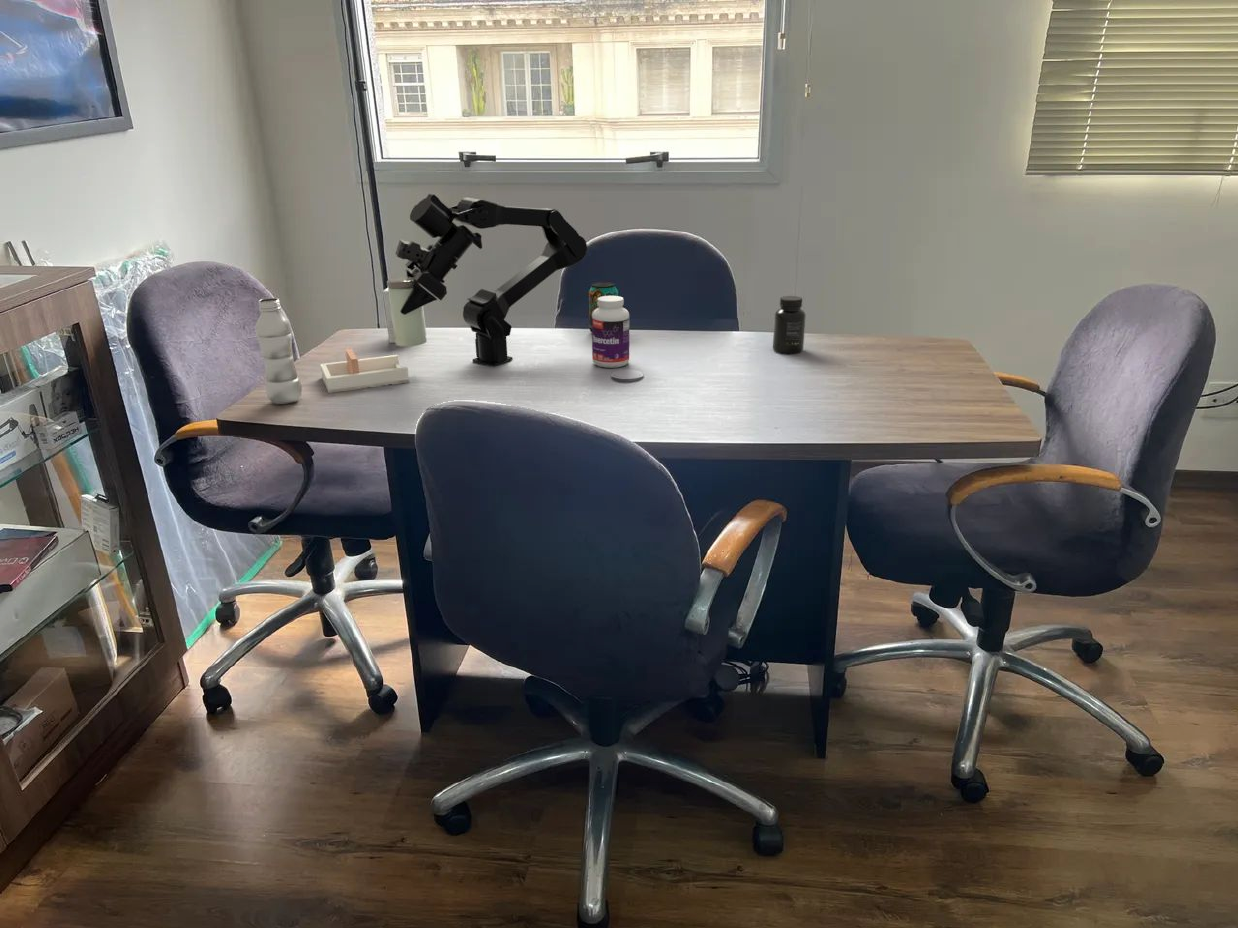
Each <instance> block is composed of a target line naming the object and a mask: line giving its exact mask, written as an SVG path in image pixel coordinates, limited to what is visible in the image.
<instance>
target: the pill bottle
mask: <svg viewBox="0 0 1238 928" xmlns="http://www.w3.org/2000/svg"><path fill="white" fill-rule="evenodd" d="M624 303H625V300H624V297H622V296H619V295H618V296H602V297H599V298H598V302H597V304H598V306H599V308H597V309H595V310H594V311H593V313H592V332H591V339H592V340H591V341H592V342H591V345H592V346H591V349H592V350H591V352H592V357H591V358H592V362H593V364H595V366H597V367H600V368H606V369H610V368H611V369H612V368H613V369H614V368H621V367H624V366H626V365H628V363H629V361H630V312H629V311H628V310H627V309H626V308H624V307H623V306H624Z"/></svg>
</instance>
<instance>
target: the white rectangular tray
mask: <svg viewBox="0 0 1238 928" xmlns="http://www.w3.org/2000/svg"><path fill="white" fill-rule="evenodd" d="M357 359H358V358H357ZM399 360H400V359H399V354H392V355H385V356H375V357H366V358H360V359H358V366H359V373H356V374H349V372H348V365H347V360H344V361H336V362H335V361H334V362H326V363H320V364H319V365H320V372H321V378H322V380H323V383H324V385H325V387H326V390H327V392H328V394H331V393H337V392H346V391H353V390H361V388H363V389H368V388H367V387H370V388H373V387H372V386H377V387H380V386H379V385H385V386H388V385H387V384H392V385H399V384H407V383H410V379H409V378H410V377H409V369H408V367H407V366H402V365H401V364H400V361H399Z"/></svg>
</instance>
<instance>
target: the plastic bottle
mask: <svg viewBox="0 0 1238 928" xmlns="http://www.w3.org/2000/svg"><path fill="white" fill-rule="evenodd" d="M258 307H259V308H258V311H259V312H260V315H259V317H258V319H257V321H256V323H255V326H254V331H255V335H256V338H257V342H258V345H259V348H260V351H261V354H262V357H263V363H264V372H265V393H266V397H267V399H268V400H269V401H270V402H271V403H272V404H277V405H284V404H285V405H286V404H291V403H294V402H297V401H299V400H300V399H301V397H302V391H303V390H302V384H301V381H300V378H299V376H298V372H297V368H296V365H295V360H294V355H293V354H294V353H293V345H292V344H293V343H292V341H293V340H292V338H293V336H292V335H293V334H292V325H291V323H290V321H289V320H288V319H287V317H286V316H285V315H284V314H283V313H282V312H281V310H282V306H281V303H280V298H278V297H266V298H262V299H259V300H258Z"/></svg>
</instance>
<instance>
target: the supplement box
mask: <svg viewBox="0 0 1238 928" xmlns="http://www.w3.org/2000/svg"><path fill="white" fill-rule="evenodd" d="M381 292H382V297H383V305H384V313H385V320H386V328H387V333H388V334H387V335H388V336H387V337H388V341H389V343H390V344H391V343H394V344H395V336H394V328H393V321H392V313H391V306H390V298H389V291H388V287H387V288H385V289H383V290H382V291H381ZM422 307H423V316H424V317H425V312H424V311H425V310H424V306H422ZM424 324H425V325H426V320H425V318H424ZM426 328H427V327H426V326H425V332H426V333H427V329H426Z"/></svg>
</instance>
